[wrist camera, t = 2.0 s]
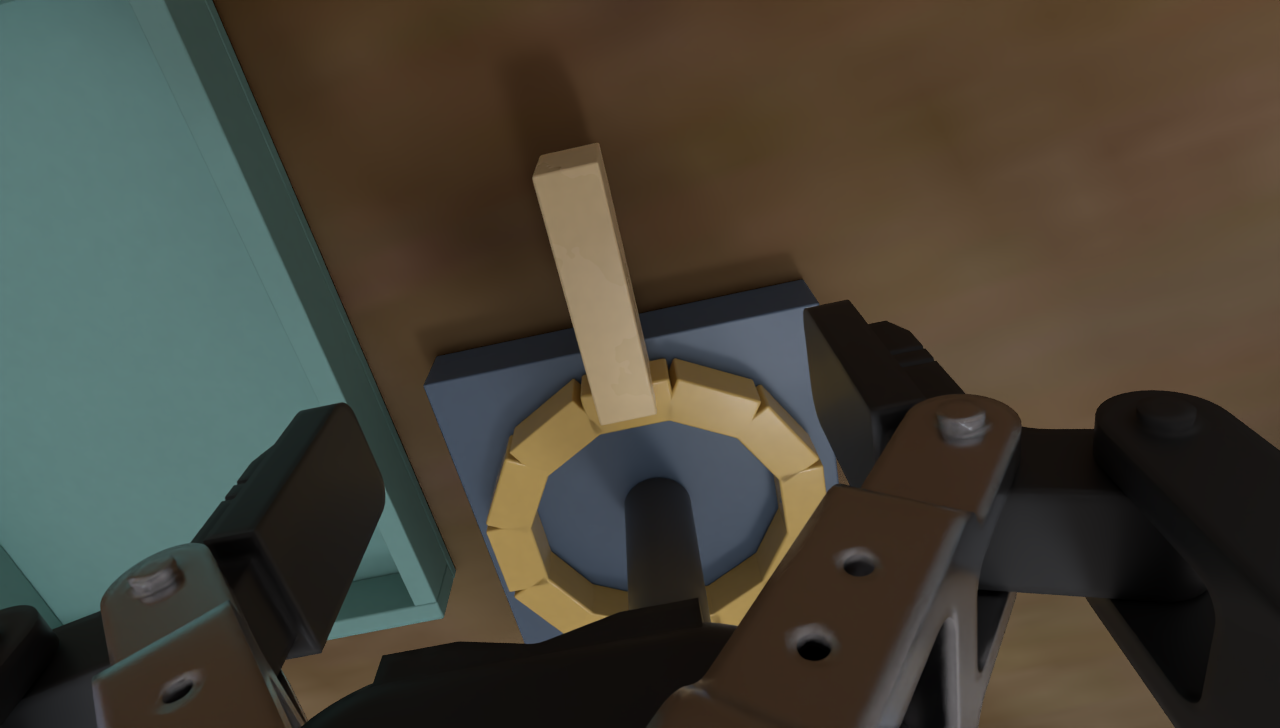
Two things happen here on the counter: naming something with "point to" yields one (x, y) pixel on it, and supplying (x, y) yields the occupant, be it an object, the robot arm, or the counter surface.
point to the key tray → (162, 312)
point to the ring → (628, 413)
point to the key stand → (638, 450)
